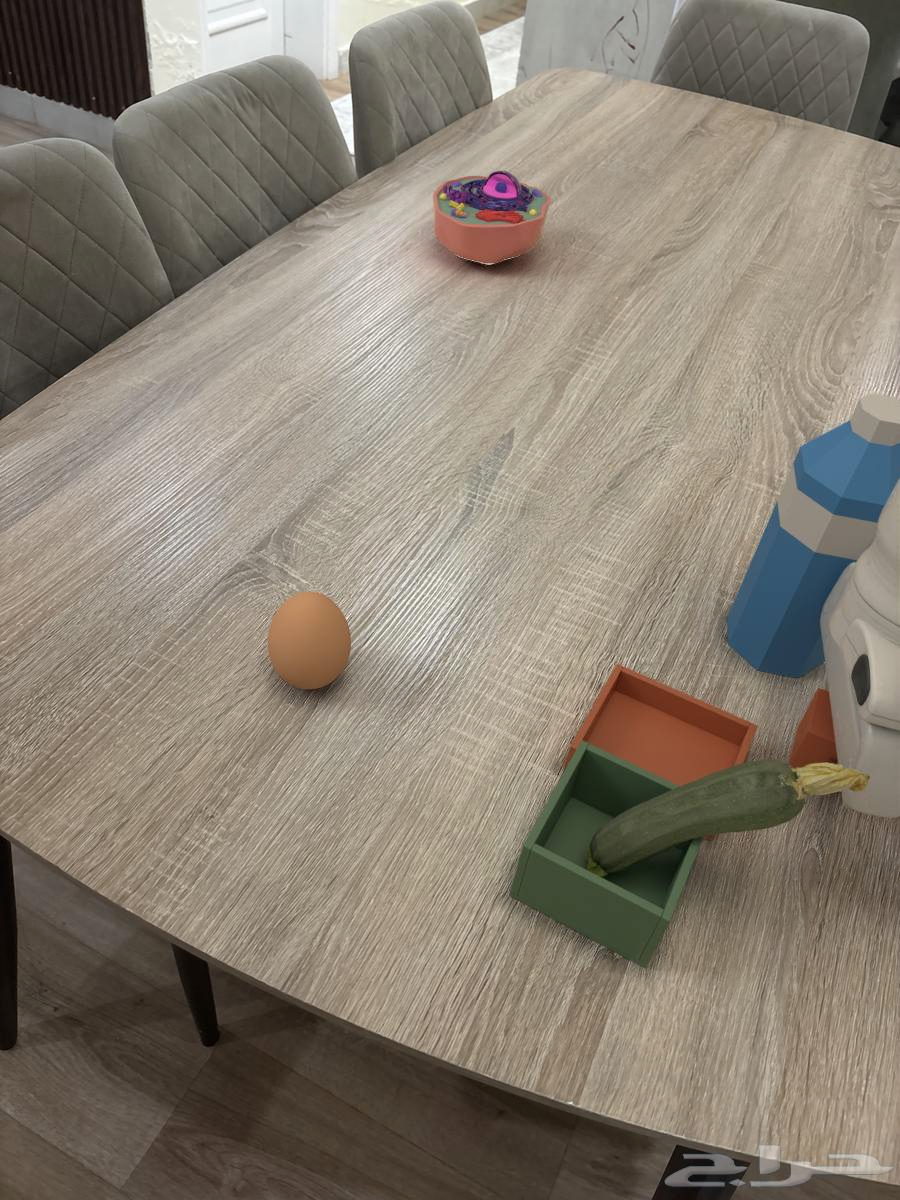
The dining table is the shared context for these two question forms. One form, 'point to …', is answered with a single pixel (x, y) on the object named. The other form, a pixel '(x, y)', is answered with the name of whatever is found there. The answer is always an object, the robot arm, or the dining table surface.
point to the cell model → (489, 216)
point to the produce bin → (558, 861)
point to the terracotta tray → (663, 729)
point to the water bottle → (816, 538)
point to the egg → (309, 640)
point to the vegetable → (715, 809)
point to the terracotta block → (815, 734)
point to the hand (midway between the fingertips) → (830, 748)
